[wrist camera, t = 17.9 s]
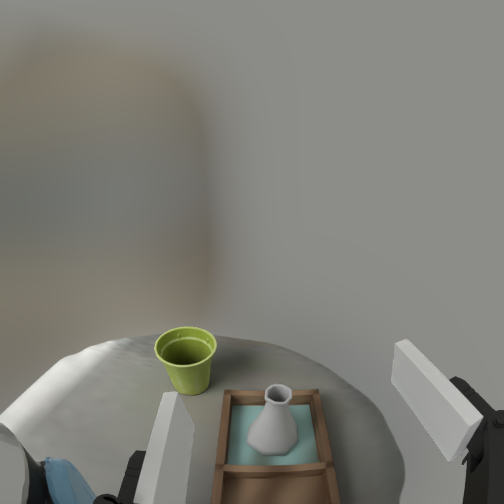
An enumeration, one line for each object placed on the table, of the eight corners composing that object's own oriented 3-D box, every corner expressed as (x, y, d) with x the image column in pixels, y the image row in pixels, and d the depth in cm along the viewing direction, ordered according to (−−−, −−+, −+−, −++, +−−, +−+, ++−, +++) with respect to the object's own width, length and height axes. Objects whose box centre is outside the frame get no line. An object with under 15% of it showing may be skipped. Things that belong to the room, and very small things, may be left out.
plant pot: (231, 385, 41) (229, 347, 38) (184, 413, 35) (174, 375, 32) (198, 358, 47) (193, 320, 44) (154, 378, 41) (144, 340, 38)
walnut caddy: (208, 562, 12) (204, 562, 11) (225, 401, 38) (224, 389, 37) (340, 557, 12) (348, 555, 11) (314, 401, 38) (318, 389, 37)
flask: (304, 424, 33) (317, 379, 29) (289, 463, 26) (300, 425, 23) (257, 411, 35) (260, 365, 32) (236, 447, 29) (235, 405, 26)
